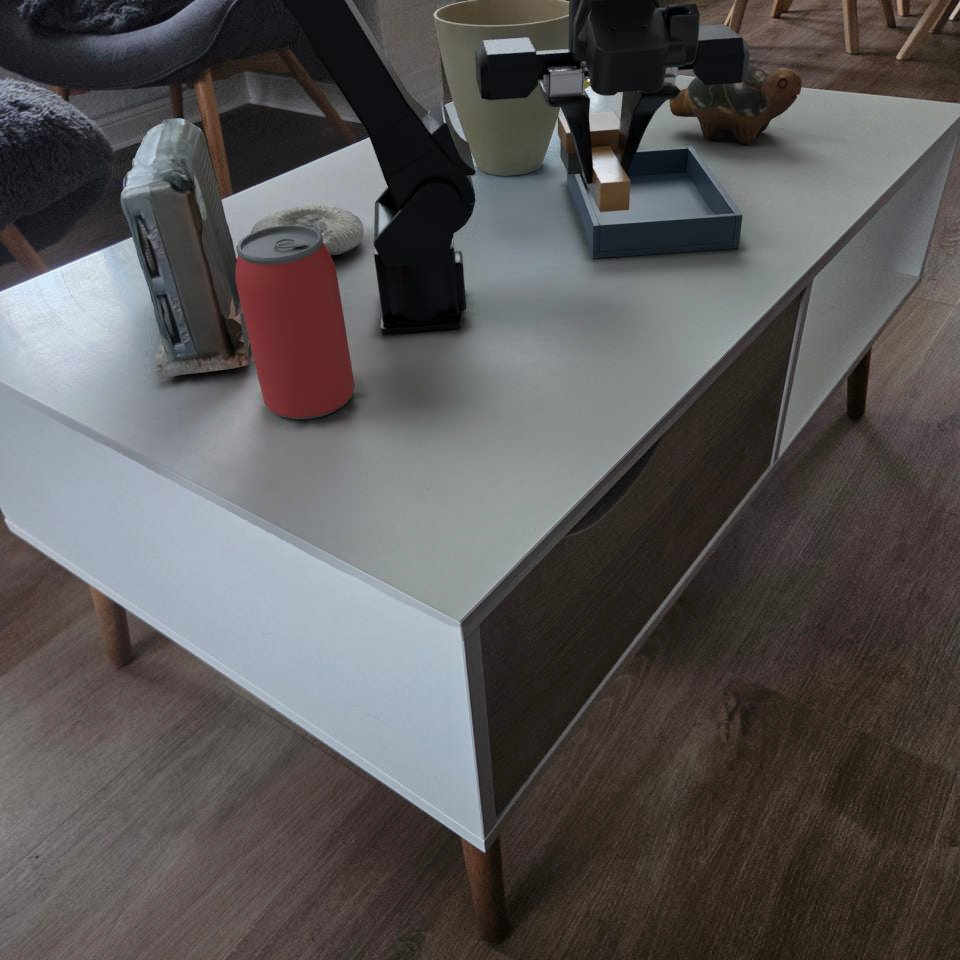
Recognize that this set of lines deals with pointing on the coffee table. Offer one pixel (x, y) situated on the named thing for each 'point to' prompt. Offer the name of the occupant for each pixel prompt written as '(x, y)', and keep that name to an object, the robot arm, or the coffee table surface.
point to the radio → (185, 252)
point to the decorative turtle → (739, 103)
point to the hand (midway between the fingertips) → (604, 181)
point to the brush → (599, 161)
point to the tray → (661, 208)
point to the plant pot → (507, 122)
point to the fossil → (321, 225)
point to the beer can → (294, 321)
